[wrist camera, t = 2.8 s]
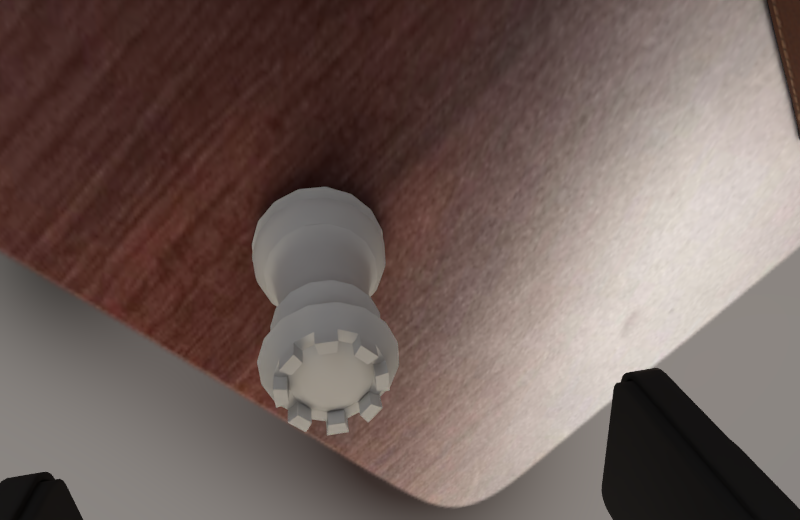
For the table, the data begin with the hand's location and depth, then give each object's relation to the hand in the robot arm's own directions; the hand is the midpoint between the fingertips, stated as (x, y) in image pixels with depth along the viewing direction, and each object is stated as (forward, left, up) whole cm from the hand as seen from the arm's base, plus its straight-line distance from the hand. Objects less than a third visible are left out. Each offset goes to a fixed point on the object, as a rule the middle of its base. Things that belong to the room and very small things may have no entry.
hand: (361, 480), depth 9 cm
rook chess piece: (0, 0, -11) cm, 11 cm away
